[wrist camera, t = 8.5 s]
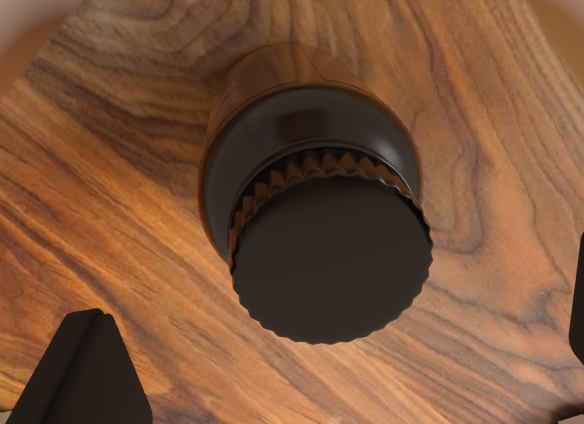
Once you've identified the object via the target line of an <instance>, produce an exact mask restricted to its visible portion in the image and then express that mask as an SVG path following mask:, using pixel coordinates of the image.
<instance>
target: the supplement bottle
mask: <svg viewBox="0 0 584 424" xmlns="http://www.w3.org/2000/svg"><path fill="white" fill-rule="evenodd" d="M423 186H424V183H423V170H422V163H421V160H420V156H419V152H418V150H417V147H416V144H415V142H414V140H413V138H412V136H411V134H410V133H409V131H408V130H407V128H406V127H405V125H404V124H403V123H402V121H401V120H400V119H399V118H398V117H397V115H396V114H395V113H394V112H393V111H392V110H391V109H390V108H389V107H388V106H387V105H386V104H385V103H384V102H383V101H382V100H381V99H379V98H378V97H377V96H376V95H375V94H374V93H373V92H372V91H371V90H370V89H369V88H368V87H367V86H366V85H364V84H363V83H362V82H361V81H360V80H359V79H358V78H357V77H356V76H355V75H354V74H353V73H352V72H350V71H349V70H348V69H347V68H346V67H345V66H344V65H343V64H341V63H340V62H339V61H338V60H336V59H335V58H334V57H332V56H331V55H329V54H327V53H325V52H323V51H321V50H319V49H316V48H313V47H310V46H306V45H301V44H277V45H272V46H268V47H265V48H262V49H259V50H257V51H255V52H253V53H251V54H249V55H248V56H246V57H245V58H243V59H242V60H241V61H239V62H238V63H237V64H236V65H235V66H234V67H233V68H232V69H231V70H230V71H229V72H228V74H227V75H226V76H225V78H224V79H223V81H222V82H221V84H220V86H219V88H218V90H217V92H216V95H215V97H214V101H213V104H212V108H211V111H210V116H209V121H208V126H207V131H206V136H205V141H204V146H203V151H202V156H201V161H200V166H199V172H198V179H197V205H198V212H199V216H200V220H201V223H202V226H203V229H204V231H205V234H206V236H207V238H208V240H209V242H210V243H211V245H212V246H213V248H214V249H215V251H216V252H217V254H218V255H219V256H220V257H221V258H222V259H223V261H224V262H225V263H226V264H227V265H228V266H229V271H230V273H231V275H232V286H233V289H234V290H235V292H236V293H237V294H238V295H239V302H240V304H241V305H242V306H243V307H244V308H246V309H247V310H248V312H249V315H250V317H251V318H253V319H254V320H257V321H259V322H260V324H261V326H262V327H263V328H264V329H267V330H271V331H273V332H274V333H275V334H276V335H277V336H279V337H287V338H289V339H291V340H292V341H294V342H307V343H309V344H312V345H314V344H320V343H324V344H329V345H332V344H335V343H338V342H350V341H352V340H354V339H356V338H362V337H367V336H368V335H370V334H371V333H372V332H373V331H377V330H380V329H383V328H384V327H385V326H386V325H387V324H388V323H389V322H391V321H393V320H395V319H398V317H399V316H400V314H401V313H402V311H404V310H406V309H407V308H409V307H410V306H411V304H412V302H413V299H414V298H415V297H416V296H417V295H419V294H420V293H421V290H422V285H423V283H424V282H425V281H426V280H427V278H428V277H429V270H428V268H429V267H430V265H431V263H432V261H433V258H432V255H431V250H432V247H433V240H432V238H431V236H430V224H429V222H428V221H427V219H426V218H425V216H424V214H423V209H422V207H421V203H422V198H423Z"/></svg>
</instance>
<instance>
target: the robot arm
mask: <svg viewBox="0 0 584 424" xmlns="http://www.w3.org/2000/svg"><path fill="white" fill-rule="evenodd" d="M569 343H570V346H571V349H572V351H573V352H574V354H575V355H576V357H577V358H578V359H579V360H580V361H581V363H582V364H583V365H584V232H583V234H582V236H581V242H580V250H579V258H578V266H577V274H576V282H575V290H574V297H573V305H572V313H571V321H570V329H569ZM5 424H153V416H152V410H151V407H150V404H149V402H148V399H147V397H146V395H145V392H144V390H143V387H142V385H141V383H140V380H139V378H138V375H137V373H136V371H135V368H134V366H133V363H132V361H131V359H130V356H129V354H128V351H127V349H126V347H125V344H124V342H123V339H122V337H121V335H120V332H119V330H118V327H117V325H116V323H115V320H114V318H113V316H112V315H111V314H104V313H103V311H102V310H101V309H98V308H95V309H89V310H83V311H77V312H72V313H69V314H67V315H66V316H65V318H64V319H63V321H62V323H61V325H60V326H59V328H58V330H57V332H56V334H55V335H54V337H53V339H52V341H51V342H50V344H49V346H48V348H47V350H46V351H45V353H44V355H43V357H42V358H41V360H40V362H39V364H38V366H37V367H36V369H35V371H34V373H33V375H32V376H31V378H30V380H29V382H28V383H27V385H26V387H25V389H24V391H23V392H22V394H21V396H20V398H19V399H18V401H17V403H16V405H15V407H14V408H13V410H12V412H11V414H10V416H9V417H8V419H7V421H6V423H5Z"/></svg>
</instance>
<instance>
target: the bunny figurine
mask: <svg viewBox="0 0 584 424" xmlns="http://www.w3.org/2000/svg"><path fill="white" fill-rule="evenodd" d="M558 424H584V415H583V414H581V415H578V416H575V417H572V418H568V419H565V420H562V421H558Z"/></svg>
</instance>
